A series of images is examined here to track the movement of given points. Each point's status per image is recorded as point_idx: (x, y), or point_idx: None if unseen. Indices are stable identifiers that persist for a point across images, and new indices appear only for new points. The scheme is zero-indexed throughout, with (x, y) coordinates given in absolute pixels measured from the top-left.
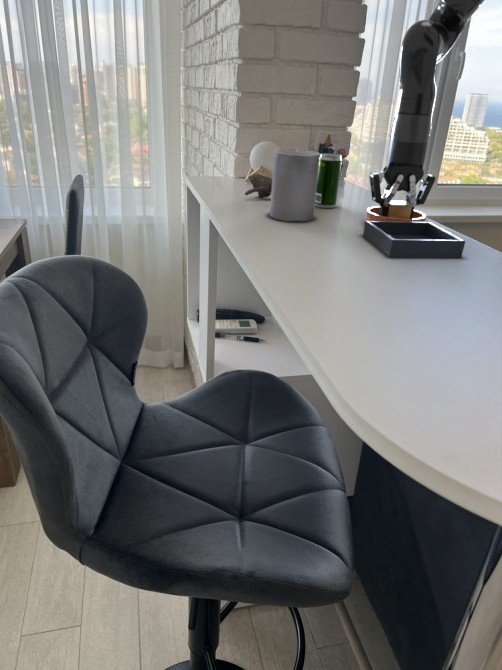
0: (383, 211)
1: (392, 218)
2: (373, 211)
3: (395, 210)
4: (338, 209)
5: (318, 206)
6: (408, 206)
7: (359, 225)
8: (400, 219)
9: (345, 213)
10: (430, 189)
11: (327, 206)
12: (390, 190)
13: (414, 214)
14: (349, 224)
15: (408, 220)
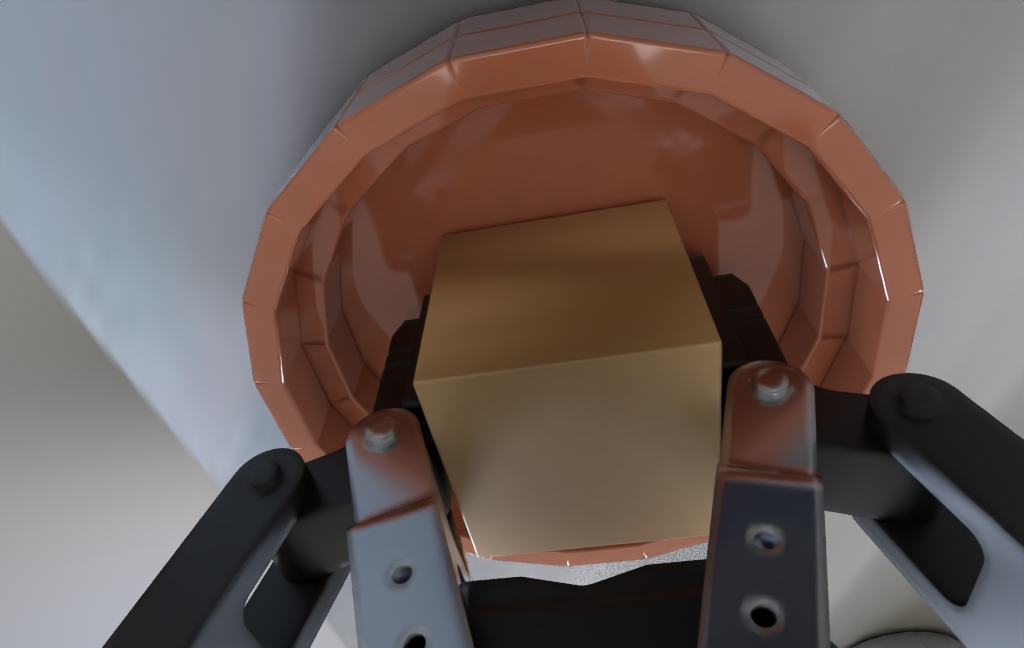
0: (751, 338)
1: (741, 61)
2: None
3: (637, 304)
4: (835, 624)
5: (963, 646)
6: (465, 362)
7: None
8: (629, 35)
9: (834, 559)
10: (108, 644)
11: (918, 641)
12: (820, 541)
13: None
14: (997, 278)
15: (504, 46)
